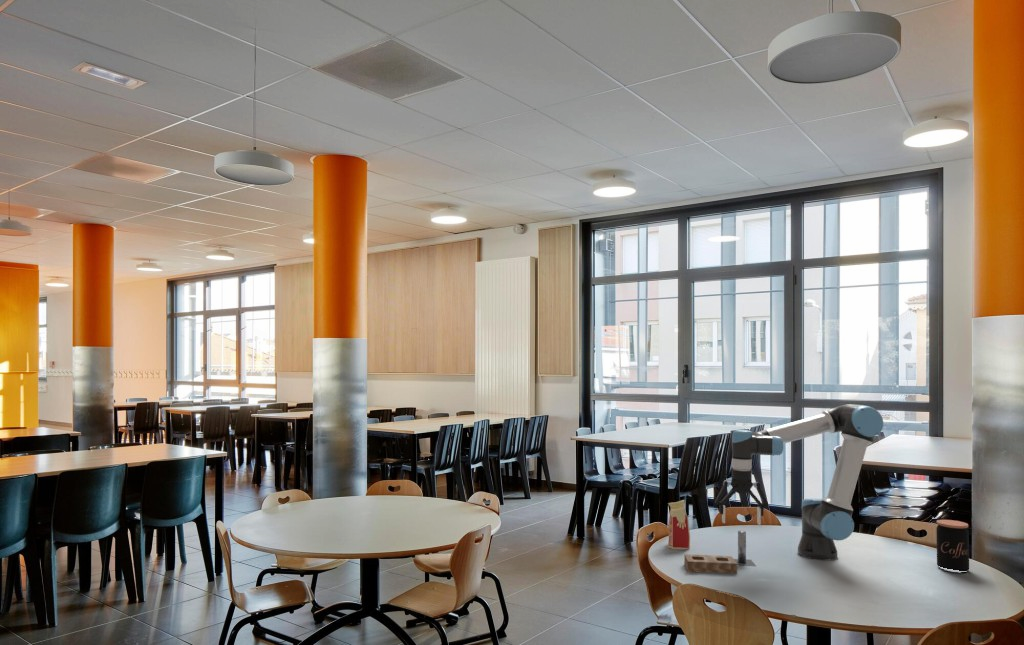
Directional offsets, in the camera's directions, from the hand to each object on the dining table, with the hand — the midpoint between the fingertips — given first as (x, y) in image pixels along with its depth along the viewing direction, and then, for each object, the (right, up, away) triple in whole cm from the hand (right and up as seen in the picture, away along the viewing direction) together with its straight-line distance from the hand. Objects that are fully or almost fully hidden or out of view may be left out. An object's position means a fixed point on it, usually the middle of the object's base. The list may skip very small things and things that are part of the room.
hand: (741, 523), depth 275 cm
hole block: (-15, -15, -9) cm, 23 cm away
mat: (0, -16, -1) cm, 16 cm away
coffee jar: (+81, -17, -5) cm, 83 cm away
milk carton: (-20, -17, +22) cm, 34 cm away
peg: (0, -15, -1) cm, 15 cm away
